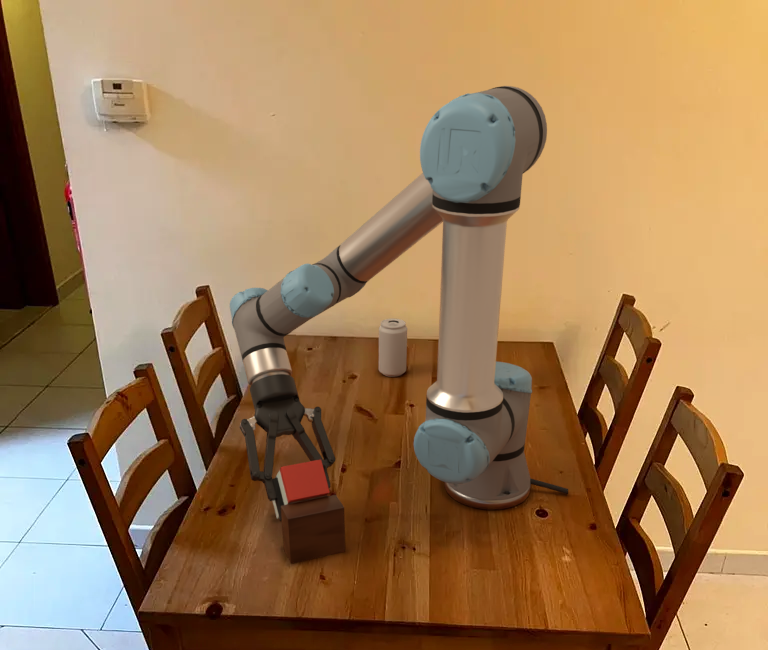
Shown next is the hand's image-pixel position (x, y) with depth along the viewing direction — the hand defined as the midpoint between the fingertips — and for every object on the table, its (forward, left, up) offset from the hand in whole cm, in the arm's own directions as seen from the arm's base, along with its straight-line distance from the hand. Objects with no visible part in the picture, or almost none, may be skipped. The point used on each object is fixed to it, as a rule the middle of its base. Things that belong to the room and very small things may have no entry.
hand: (305, 513), depth 132 cm
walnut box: (-3, +3, -4) cm, 6 cm away
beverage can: (+12, -66, -4) cm, 68 cm away
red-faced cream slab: (+2, -2, -4) cm, 5 cm away
